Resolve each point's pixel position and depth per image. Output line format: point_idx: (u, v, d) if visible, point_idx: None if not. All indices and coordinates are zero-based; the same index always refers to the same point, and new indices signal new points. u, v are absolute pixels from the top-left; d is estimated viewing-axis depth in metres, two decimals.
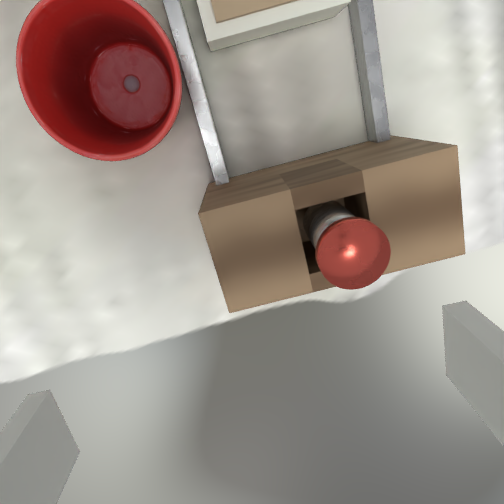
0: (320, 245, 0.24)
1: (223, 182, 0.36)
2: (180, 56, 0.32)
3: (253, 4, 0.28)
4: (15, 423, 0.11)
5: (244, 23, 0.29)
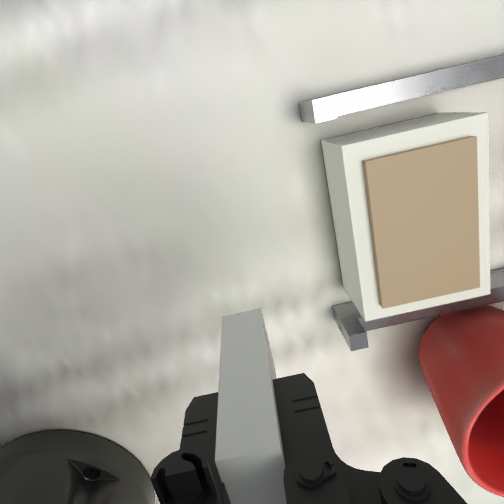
0: None
1: None
2: (466, 307, 0.28)
3: (471, 245, 0.23)
4: (230, 334, 0.14)
5: (481, 251, 0.24)
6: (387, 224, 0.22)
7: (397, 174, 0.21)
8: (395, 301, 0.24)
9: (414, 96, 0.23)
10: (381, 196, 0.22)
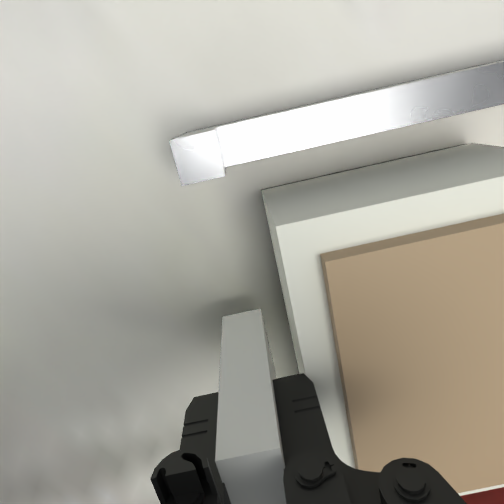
0: None
1: None
2: None
3: None
4: (230, 334, 0.14)
5: None
6: (373, 376, 0.11)
7: (392, 284, 0.10)
8: None
9: (388, 126, 0.12)
10: (360, 326, 0.11)
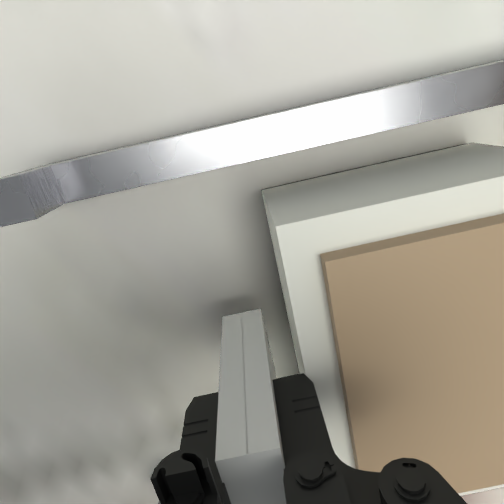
0: None
1: None
2: None
3: None
4: (231, 334, 0.14)
5: None
6: (373, 376, 0.11)
7: (392, 284, 0.10)
8: None
9: (224, 164, 0.12)
10: (360, 326, 0.10)
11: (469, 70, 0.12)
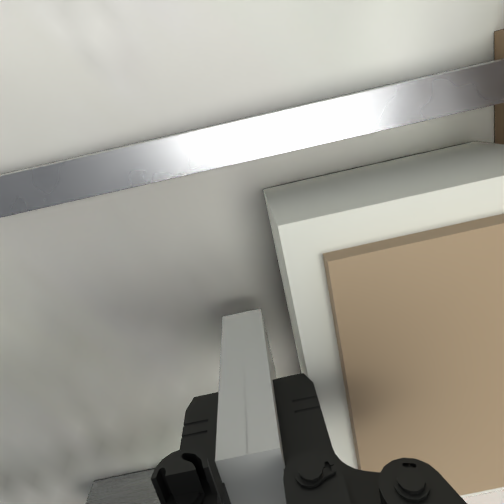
0: None
1: None
2: None
3: None
4: (230, 334, 0.14)
5: None
6: (376, 377, 0.11)
7: (395, 285, 0.10)
8: None
9: (109, 189, 0.12)
10: (363, 327, 0.10)
11: (350, 96, 0.12)
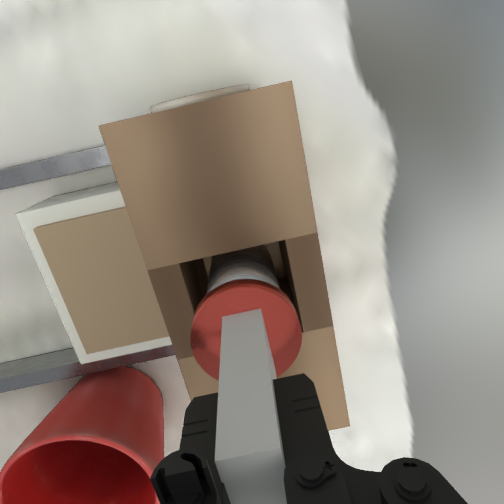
0: None
1: None
2: (76, 374, 0.31)
3: (154, 299, 0.25)
4: (230, 334, 0.14)
5: None
6: (69, 281, 0.25)
7: (65, 239, 0.24)
8: (96, 347, 0.26)
9: None
10: (56, 258, 0.24)
11: (62, 156, 0.25)
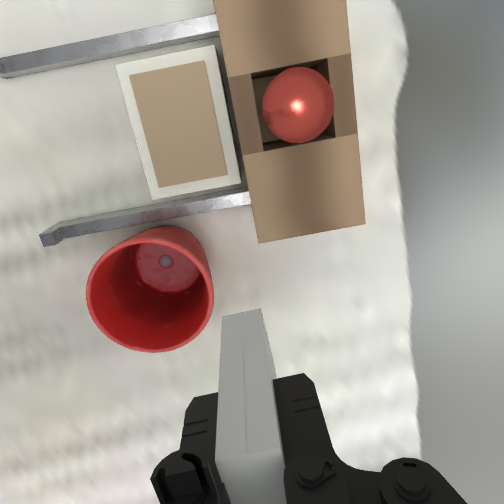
0: (284, 140, 0.25)
1: None
2: (141, 222, 0.38)
3: (215, 141, 0.33)
4: (230, 334, 0.14)
5: (228, 149, 0.33)
6: (151, 122, 0.32)
7: (152, 85, 0.31)
8: (167, 182, 0.34)
9: (62, 60, 0.33)
10: (144, 101, 0.31)
11: (148, 28, 0.33)
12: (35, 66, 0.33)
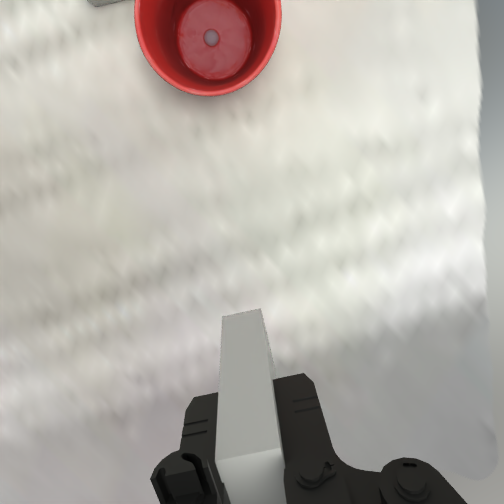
0: None
1: None
2: None
3: None
4: (230, 334, 0.14)
5: None
6: None
7: None
8: None
9: None
10: None
11: None
12: None
